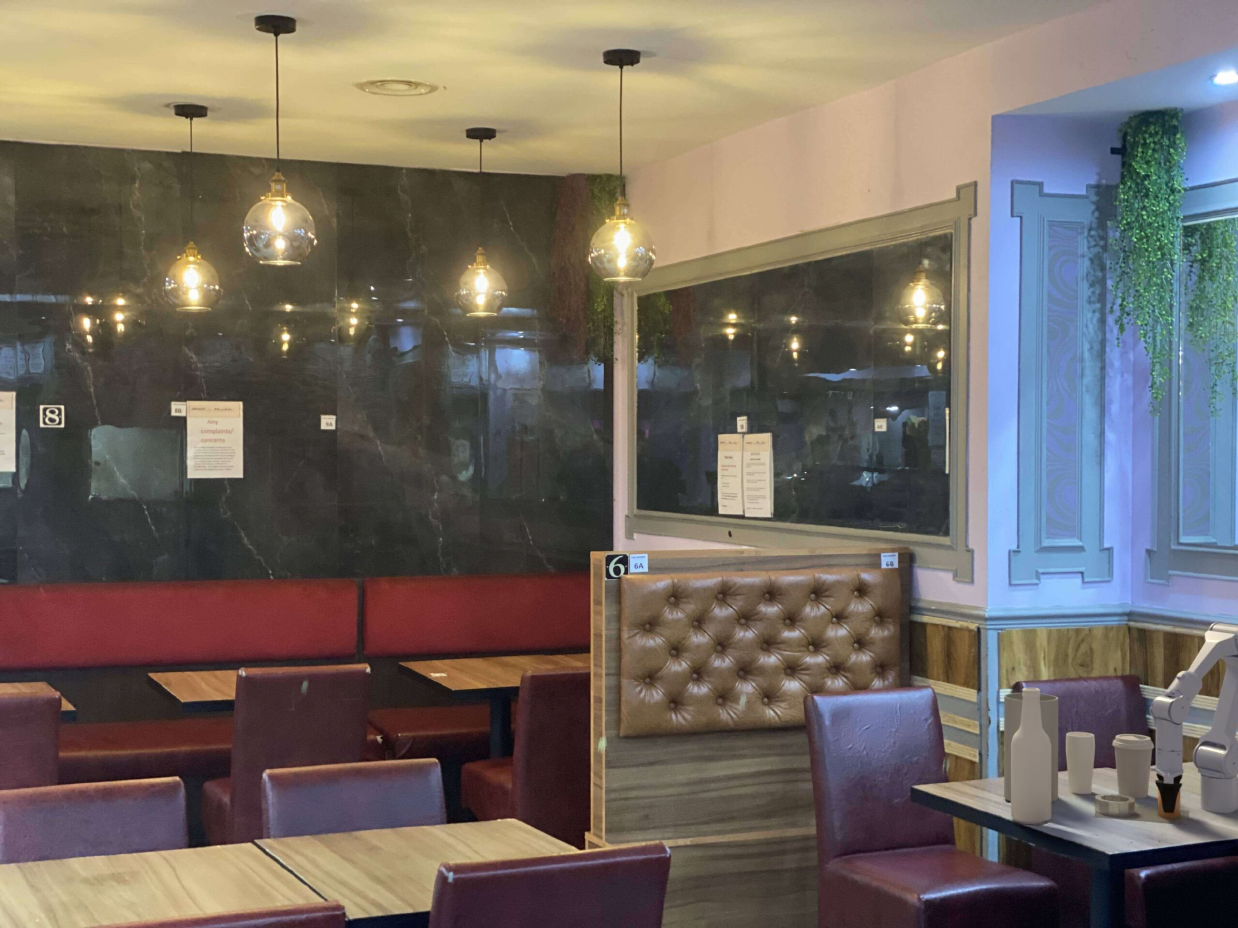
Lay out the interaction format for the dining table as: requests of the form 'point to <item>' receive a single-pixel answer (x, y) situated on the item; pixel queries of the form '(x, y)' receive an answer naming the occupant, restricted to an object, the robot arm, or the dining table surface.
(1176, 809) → the orange block
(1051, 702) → the cylinder vase
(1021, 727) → the alcohol
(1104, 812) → the beige faceted ring
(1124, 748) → the coffee cup
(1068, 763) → the drinking glass
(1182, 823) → the board
